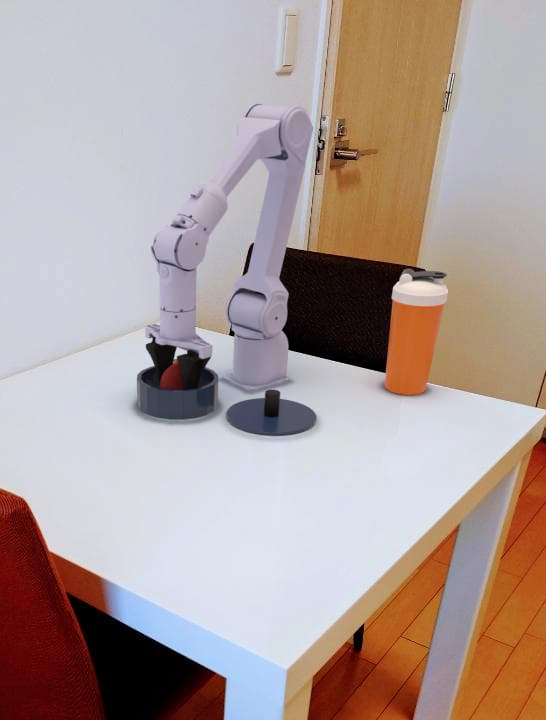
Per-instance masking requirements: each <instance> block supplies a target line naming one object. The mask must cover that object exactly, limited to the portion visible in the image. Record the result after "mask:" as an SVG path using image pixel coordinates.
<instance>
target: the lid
mask: <svg viewBox="0 0 546 720" xmlns="http://www.w3.org/2000/svg"><path fill="white" fill-rule="evenodd" d="M226 420H227V422H228V423H229V424H230V425H231V426H233V427H235V429H239V430H241V431H244V432H247V433H251V434H254V435H260V436H277V437H278V436H290V435H296V434H300V433H303V432H305V431H308V430H310V429H311V428H312V427H314V425H316V423H317V413H316V412H315V411H314V410H313V409H312V408H311V407H309V406H307V405H305V404H303V403H301V402H298V401H294V400H290V399H286V398H281V391H280V390H278V389H267V390H265V392H264V397H259V398H256V397H255V398H249V399H245V400H241V401H239V402H236V403H234V404H232V405H230V407H229V408H228V409H227V411H226Z"/></svg>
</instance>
